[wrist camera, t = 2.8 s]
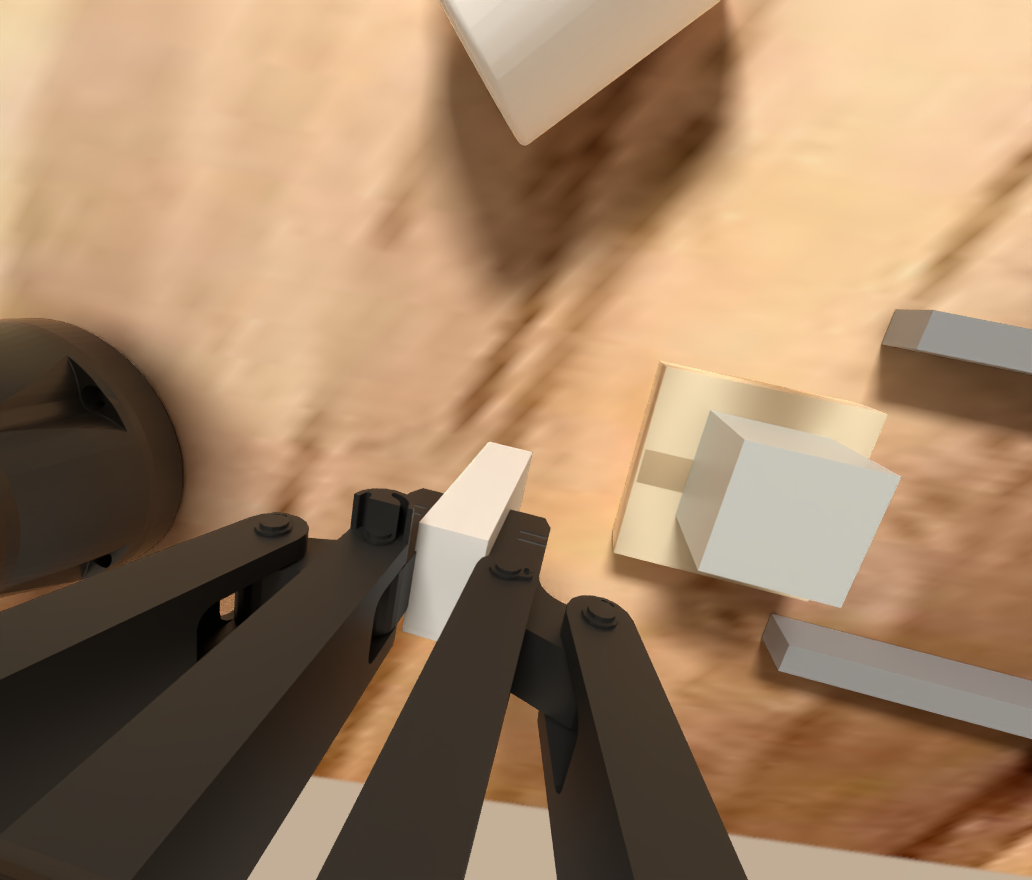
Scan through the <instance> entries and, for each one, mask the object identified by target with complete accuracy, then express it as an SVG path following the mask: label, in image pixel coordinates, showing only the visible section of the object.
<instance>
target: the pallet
mask: <svg viewBox="0 0 1032 880" xmlns="http://www.w3.org/2000/svg"><path fill="white" fill-rule="evenodd" d="M710 410H712V411H717V412H721V413H725V414H730V415H734V416H738V417H742V418H747V419H751V420H755V421H760V422H764V423H768V424H772V425H777V426H781V427H785V428H790V429H794V430H798V431H803V432H807V433H811V434H815V435H820V436H824V437H828V438H831V439H833V440H835V441H837V442H839V443H840V444H842V445H844V446H846V447H848V448H850V449H851V450H853V451H855V452H857V453H859V454H861V455H862V456H864V457H866V458H868V459H869V458H870V455H871V453H872V451H873V448H874V446H875V444H876V441H877V439H878V437H879V434H880V432H881V429H882V427H883V425H884V422H885V420H886V418H887V415H888V414H886V413H884V412H881V411H878V410H876V409H873V408H870V407H868V406H865V405H862V404H860V403H856V402H851V401H846V400H842V399H837V398H832V397H828V396H823V395H818V394H814V393H809V392H804V391H799V390H795V389H790V388H785V387H781V386H776V385H771V384H766V383H762V382H757V381H752V380H748V379H743V378H738V377H733V376H729V375H724V374H719V373H715V372H710V371H705V370H701V369H696V368H691V367H686V366H682V365H677V364H672V363H668V362H663V361H659V365H658V369H657V372H656V376H655V379H654V383H653V387H652V390H651V394H650V397H649V401H648V404H647V408H646V412H645V415H644V419H643V422H642V426H641V430H640V433H639V437H638V440H637V444H636V448H635V451H634V455H633V458H632V462H631V465H630V469H629V473H628V476H627V480H626V483H625V487H624V491H623V494H622V498H621V501H620V505H619V509H618V512H617V516H616V519H615V523H614V526H613V530H612V533H613V548H614V553H616V554H620V555H624V556H628V557H632V558H636V559H640V560H644V561H648V562H652V563H656V564H660V565H664V566H668V567H672V568H676V569H680V570H684V571H688V572H692V573H696V574H700V575H704V576H708V577H712V578H715V579H719V580H723V581H727V582H731V583H735V584H739V585H743V586H747V587H751V588H755V589H759V590H763V591H767V592H771V593H775V594H779V595H783V596H787V597H791V598H795V599H799V600H803V601H807V602H808V601H809V599H805V598H801V597H797V596H793V595H789V594H786V593H782V592H778V591H774V590H770V589H766V588H763V587H759V586H755V585H751V584H747V583H743V582H740V581H736V580H732V579H728V578H724V577H721V576H717V575H713V574H709V573H705V572H701V571H698V569H697V567H696V564H695V562H694V559H693V557H692V554H691V552H690V549H689V547H688V545H687V542H686V540H685V537H684V535H683V532H682V530H681V527H680V525H679V522H678V520H677V517H676V513H677V510H678V507H679V504H680V501H681V498H682V495H683V492H684V488H685V485H686V482H687V479H688V476H689V473H690V470H691V467H692V464H693V461H694V458H695V455H696V452H697V449H698V446H699V443H700V440H701V437H702V434H703V431H704V428H705V425H706V422H707V419H708V416H709V413H710Z"/></svg>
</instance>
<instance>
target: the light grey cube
mask: <svg viewBox="0 0 1032 880" xmlns="http://www.w3.org/2000/svg"><path fill="white" fill-rule="evenodd" d="M900 479H901V476H899V475H897V474H895V473H894V472H892V471H890V470H888V469H886V468H884V467H883V466H881V465H879V464H877V463H875V462H873V461H872V460H870V459H868V458H866V457H864V456H862V455H861V454H859V453H857V452H855V451H853V450H851V449H850V448H848V447H846V446H844V445H842V444H840V443H839V442H837V441H835V440H833V439H831V438H828V437H824V436H820V435H815V434H811V433H807V432H803V431H798V430H794V429H790V428H785V427H781V426H777V425H772V424H768V423H764V422H760V421H755V420H751V419H747V418H742V417H738V416H734V415H730V414H725V413H721V412H717V411H712V410H710V413H709V416H708V419H707V422H706V425H705V428H704V431H703V434H702V437H701V440H700V443H699V446H698V449H697V452H696V455H695V458H694V461H693V464H692V467H691V470H690V473H689V476H688V479H687V482H686V485H685V488H684V492H683V495H682V498H681V501H680V504H679V507H678V510H677V513H676V517H677V520H678V522H679V525H680V527H681V530H682V532H683V535H684V537H685V540H686V542H687V545H688V547H689V549H690V552H691V554H692V557H693V559H694V562H695V564H696V567H697V569H698V571H701V572H705V573H709V574H713V575H717V576H721V577H724V578H728V579H732V580H736V581H740V582H743V583H747V584H751V585H755V586H759V587H763V588H766V589H770V590H774V591H778V592H782V593H786V594H789V595H793V596H797V597H801V598H805V599H809V600H812V601H816V602H820V603H824V604H828V605H832V606H835V607H839V608H841V607H842V604H843V602H844V600H845V598H846V596H847V594H848V591H849V589H850V587H851V585H852V583H853V581H854V578H855V576H856V574H857V572H858V570H859V568H860V565H861V563H862V561H863V559H864V557H865V555H866V552H867V550H868V548H869V546H870V544H871V542H872V539H873V537H874V535H875V533H876V531H877V529H878V526H879V524H880V522H881V520H882V518H883V516H884V513H885V511H886V509H887V507H888V505H889V503H890V500H891V498H892V496H893V494H894V492H895V490H896V487H897V485H898V483H899V481H900Z"/></svg>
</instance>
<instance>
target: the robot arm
mask: <svg viewBox="0 0 1032 880" xmlns="http://www.w3.org/2000/svg"><path fill="white" fill-rule="evenodd" d="M531 457H532V452H529V451H525V450H521V449H517V448H513V447H509V446H505V445H501V444H497V443H493V442H488V443H487V445H486V446H485V447H484V448H483V449H482V450H481V451H480V453H479V454H478V455H477V456H476V457H475V458H474V460H473V461H472V462H471V463H470V464H469V465H468V466H467V468H466V469H465V470H464V471H463V472H462V473H461V475H460V476H459V477H458V478H457V479H456V480H455V482H454V483H453V484H452V485H451V486H450V487H449V488H448V490H447V491H446V492H445V493H440V492H436V491H432V490H428V489H424V488H423V489H420V490H417V491H414V492H411V493H409V494H408V495H406V494H404V493H401V492H398V491H395V490H389V489H367V490H362V491H360V492H357V493H355V494H354V501H353V510H352V518H351V527H350V529H349V530H348V531H347V532H346V533H345V534H344V535H342V536H341V537H340V538H339V539H338V540H328V539H316V538H308V531H309V527H308V525H307V522H306V521H304V520H303V519H301V518H300V517H297V516H294V515H290V514H287V513H280V512H274V513H268V514H260V515H257V516H253V517H249V518H247V519H244V520H242V521H239V522H236V523H234V524H231V525H228V526H226V527H223V528H220V529H218V530H215V531H212V532H210V533H207V534H205V535H202V536H199V537H197V538H194V539H191V540H189V541H186V542H183V543H181V544H178V545H175V546H173V547H170V548H168V549H165V550H162V551H160V552H157V553H154V554H152V555H149V556H146V557H144V558H141V559H138V560H136V561H133V562H131V563H128V564H125V563H126V562H128V561H130V560H132V559H134V558H136V557H137V556H139V555H141V554H143V553H145V552H146V551H148V550H149V549H151V548H152V547H154V546H155V545H156V544H157V543H158V542H159V541H160V540H161V539H162V538H163V537H164V535H165V534H166V533H167V531H168V530H169V528H170V527H171V525H172V523H173V521H174V519H175V517H176V514H177V511H178V508H179V505H180V500H181V495H182V484H183V471H182V461H181V455H180V449H179V445H178V441H177V438H176V435H175V432H174V429H173V426H172V424H171V421H170V419H169V417H168V415H167V412H166V411H165V409H164V407H163V405H162V403H161V401H160V400H159V398H158V396H157V395H156V393H155V392H154V390H153V389H152V387H151V386H150V384H149V383H148V382H147V381H146V379H145V378H144V377H143V376H142V374H141V373H140V372H139V371H138V370H137V369H136V368H135V367H134V365H133V364H132V363H131V362H130V361H129V360H127V359H126V358H125V357H124V356H123V355H122V354H121V353H120V352H118V351H117V350H116V349H115V348H113V347H112V346H111V345H109V344H108V343H106V342H105V341H104V340H102V339H100V338H99V337H97V336H95V335H94V334H92V333H90V332H88V331H86V330H84V329H81V328H79V327H77V326H74V325H71V324H68V323H65V322H61V321H56V320H51V319H42V318H25V319H0V598H1V597H5V596H10V595H14V594H19V593H23V592H28V591H32V590H37V589H42V588H46V587H51V586H55V585H60V584H64V583H69V582H74V581H78V580H82V579H86V580H83V581H80V582H78V583H75V584H72V585H70V586H67V587H65V588H62V589H59V590H57V591H54V592H51V593H49V594H46V595H43V596H41V597H38V598H35V599H33V600H30V601H28V602H25V603H22V604H20V605H17V606H14V607H12V608H9V609H6V610H4V611H1V612H0V880H247V879H248V877H249V875H250V874H251V872H252V870H253V869H254V867H255V866H256V864H257V863H258V861H259V859H260V858H261V856H262V854H263V853H264V851H265V849H266V848H267V846H268V845H269V843H270V842H271V840H272V838H273V837H274V835H275V834H276V832H277V830H278V829H279V827H280V826H281V824H282V822H283V821H284V819H285V818H286V816H287V814H288V813H289V811H290V809H291V808H292V806H293V805H294V803H295V801H296V800H297V798H298V796H299V795H300V793H301V791H302V790H303V788H304V787H305V785H306V783H307V782H308V781H309V779H310V777H311V776H312V774H313V773H314V771H315V769H316V768H317V766H318V765H319V763H320V761H321V760H322V758H323V757H324V755H325V753H326V752H327V750H328V749H329V747H330V745H331V744H332V742H333V740H334V739H335V737H336V736H337V734H338V732H339V731H340V729H341V728H342V726H343V724H344V723H345V721H346V720H347V718H348V716H349V715H350V713H351V712H352V710H353V708H354V707H355V705H356V704H357V702H358V700H359V699H360V697H361V696H362V694H363V692H364V691H365V689H366V688H367V686H368V684H369V683H370V681H371V679H372V678H373V676H374V675H375V673H376V671H377V670H378V668H379V667H380V665H381V663H382V662H383V660H384V659H385V657H386V655H387V654H388V652H389V651H390V649H391V647H392V646H393V642H394V639H395V634H396V627H397V623H398V622H399V620H400V619H401V617H402V616H403V614H404V613H405V616H404V622H403V629H402V631H404V632H407V633H410V634H414V635H417V636H421V637H424V638H427V639H431V640H434V641H437V642H436V644H435V646H434V648H433V650H432V652H431V654H430V656H429V658H428V660H427V662H426V664H425V666H424V668H423V670H422V672H421V674H420V676H419V678H418V680H417V682H416V684H415V686H414V688H413V690H412V692H411V694H410V696H409V697H408V699H407V701H406V703H405V705H404V707H403V709H402V711H401V713H400V715H399V717H398V719H397V721H396V723H395V725H394V727H393V729H392V731H391V733H390V735H389V737H388V739H387V741H386V743H385V745H384V747H383V749H382V751H381V753H380V755H379V757H378V759H377V761H376V763H375V765H374V766H373V768H372V770H371V772H370V774H369V776H368V778H367V780H366V782H365V784H364V786H363V788H362V790H361V792H360V794H359V796H358V798H357V800H356V802H355V804H354V806H353V808H352V810H351V812H350V814H349V816H348V818H347V820H346V822H345V824H344V826H343V828H342V830H341V832H340V834H339V835H338V838H337V840H336V841H335V843H334V845H333V847H332V849H331V851H330V853H329V855H328V857H327V859H326V861H325V863H324V865H323V867H322V869H321V871H320V873H319V875H318V877H317V879H316V880H464V878H465V874H466V870H467V865H468V862H469V857H470V853H471V849H472V845H473V841H474V837H475V833H476V829H477V825H478V821H479V817H480V813H481V809H482V805H483V801H484V797H485V793H486V789H487V785H488V781H489V777H490V773H491V769H492V765H493V761H494V757H495V753H496V749H497V745H498V741H499V737H500V733H501V729H502V725H503V721H504V717H505V713H506V709H507V705H508V701H509V697H510V693H512V694H514V695H515V696H517V697H519V698H520V699H522V700H523V701H525V702H527V703H528V704H530V705H532V706H533V707H535V708H536V709H538V710H539V712H538V729H539V737H540V745H541V753H542V761H543V769H544V777H545V785H546V794H547V802H548V810H549V818H550V826H551V834H552V841H553V850H554V858H555V866H556V874H557V880H748V879H747V877H746V875H745V872H744V870H743V868H742V865H741V863H740V861H739V859H738V856H737V854H736V852H735V850H734V847H733V845H732V843H731V841H730V838H729V836H728V834H727V831H726V829H725V827H724V825H723V822H722V820H721V818H720V816H719V813H718V811H717V809H716V807H715V804H714V802H713V800H712V798H711V795H710V793H709V791H708V789H707V786H706V784H705V782H704V780H703V777H702V775H701V773H700V771H699V768H698V766H697V764H696V762H695V759H694V757H693V755H692V752H691V750H690V748H689V746H688V743H687V741H686V739H685V737H684V734H683V732H682V730H681V728H680V725H679V723H678V721H677V719H676V716H675V714H674V712H673V710H672V707H671V705H670V703H669V701H668V698H667V696H666V694H665V692H664V689H663V687H662V685H661V683H660V680H659V678H658V676H657V673H656V671H655V669H654V667H653V664H652V662H651V660H650V658H649V655H648V653H647V651H646V649H645V646H644V644H643V642H642V640H641V637H640V635H639V633H638V631H637V628H636V626H635V624H634V622H633V620H632V618H631V617H630V616H629V614H628V613H627V612H626V611H625V610H624V609H622V608H621V607H620V606H619V605H617V604H616V603H614V602H612V601H609V600H608V599H605V598H600V597H596V596H584V595H581V596H578V597H575V598H572V599H571V600H570V601H569V602H568V604H567V605H566V604H564V603H562V602H560V601H558V600H557V599H555V598H553V597H552V596H551V595H549V594H548V593H547V592H546V591H545V590H544V588H543V587H542V586H541V584H540V581H539V574H540V570H541V565H542V561H543V557H544V553H545V549H546V545H547V541H548V537H549V532H550V526H549V525H548V523H547V521H546V519H545V518H542V517H538V516H534V515H530V514H526V513H522V512H519V511H520V507H521V502H522V498H523V493H524V489H525V484H526V479H527V475H528V470H529V466H530V461H531ZM123 564H125V565H123ZM121 565H123V566H121ZM119 566H120V567H119ZM87 578H88V579H87ZM233 593H235V606H234V611H232V612H230V613H228V614H226V615H223V616H220V600H222V599H223V598H225V597H227V596H229V595H231V594H233Z"/></svg>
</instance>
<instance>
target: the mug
mask: <svg viewBox="0 0 1032 880" xmlns="http://www.w3.org/2000/svg"><path fill="white" fill-rule="evenodd" d="M438 1H439V3H440V4H441V6H442V8H443V10H444V12H445V14H446V15H447V17H448V19H449V21H450V23H451V25H452V26H453V28H454V30H455V32H456V34H457V35H458V37H459V39H460V41H461V43H462V45H463V46H464V48H465V50H466V52H467V54H468V55H469V57H470V59H471V61H472V63H473V64H474V66H475V68H476V70H477V72H478V73H479V75H480V77H481V79H482V80H483V82H484V84H485V86H486V88H487V89H488V91H489V93H490V95H491V96H492V98H493V100H494V102H495V104H496V105H497V107H498V109H499V111H500V112H501V114H502V116H503V118H504V119H505V121H506V123H507V124H508V126H509V128H510V130H511V131H512V133H513V135H514V136H515V138H516V139H517V141H518V142H519V143H520V144H521V145H523V146H526V145H528V144H530V143H531V142H532V141H534V140H535V139H536V138H538V137H539V136H540V135H542V134H543V133H544V132H546V131H547V130H549V129H550V128H551V127H553V126H554V125H555V124H557V123H558V122H559V121H561V120H562V119H563V118H565V117H566V116H567V115H569V114H570V113H571V112H573V111H574V110H575V109H577V108H578V107H579V106H581V105H582V104H583V103H585V102H586V101H587V100H589V99H590V98H591V97H593V96H594V95H595V94H597V93H598V92H599V91H601V90H602V89H603V88H605V87H606V86H607V85H609V84H610V83H611V82H613V81H614V80H615V79H617V78H618V77H619V76H621V75H622V74H623V73H625V72H626V71H627V70H629V69H630V68H631V67H633V66H634V65H635V64H637V63H638V62H639V61H641V60H642V59H643V58H645V57H646V56H647V55H649V54H650V53H651V52H653V51H654V50H655V49H657V48H658V47H659V46H661V45H662V44H664V43H665V42H666V41H668V40H669V39H670V38H672V37H673V36H674V35H676V34H677V33H678V32H680V31H681V30H682V29H684V28H685V27H686V26H688V25H689V24H690V23H692V22H693V21H694V20H696V19H697V18H698V17H700V16H701V15H702V14H704V13H705V12H706V11H708V10H709V9H710V8H712V7H713V6H714V5H716V4H717V3H718V2H720V1H721V0H438Z"/></svg>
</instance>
